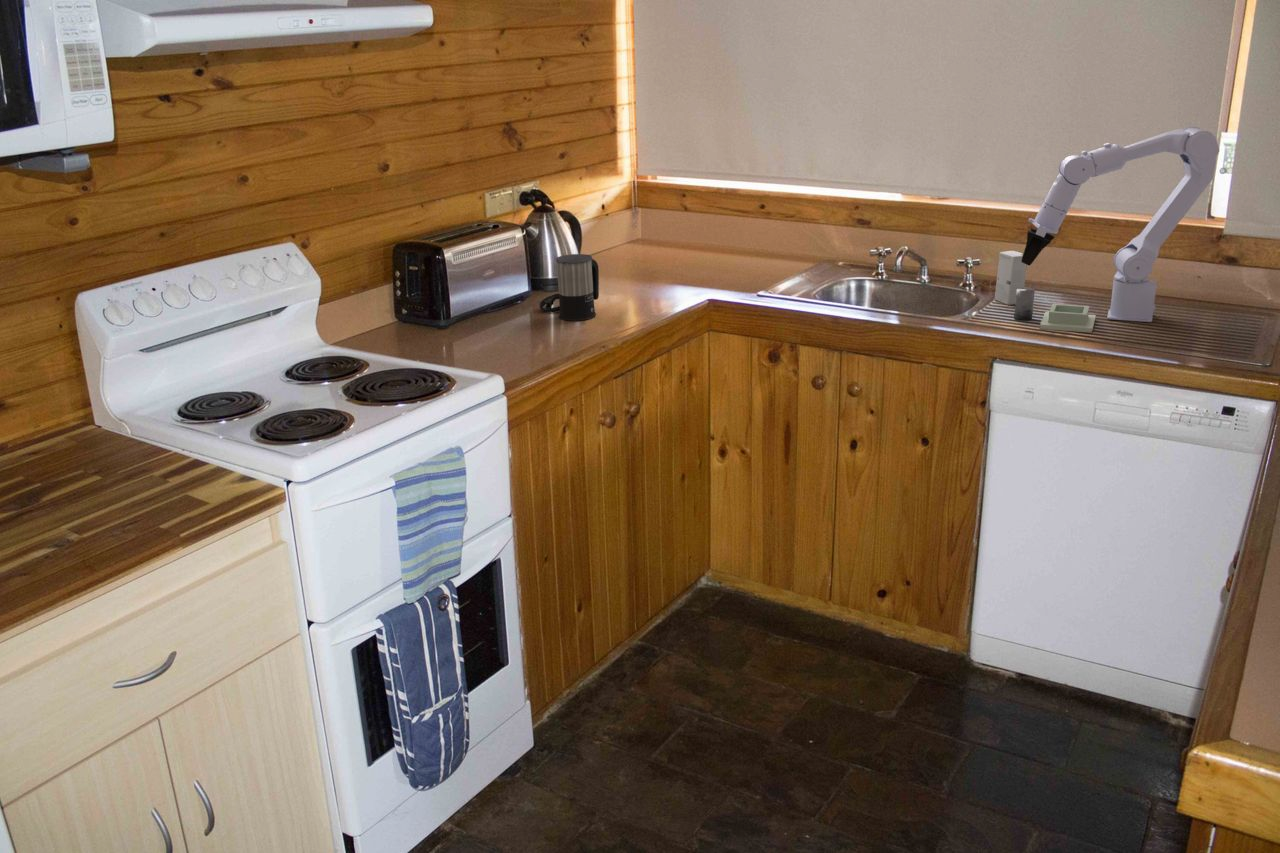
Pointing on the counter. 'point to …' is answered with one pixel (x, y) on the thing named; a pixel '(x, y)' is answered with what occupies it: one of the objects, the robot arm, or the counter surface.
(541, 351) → the counter surface
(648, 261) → the counter surface
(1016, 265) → the skincare box
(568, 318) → the milk frother
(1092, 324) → the socket stand
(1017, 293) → the peg
